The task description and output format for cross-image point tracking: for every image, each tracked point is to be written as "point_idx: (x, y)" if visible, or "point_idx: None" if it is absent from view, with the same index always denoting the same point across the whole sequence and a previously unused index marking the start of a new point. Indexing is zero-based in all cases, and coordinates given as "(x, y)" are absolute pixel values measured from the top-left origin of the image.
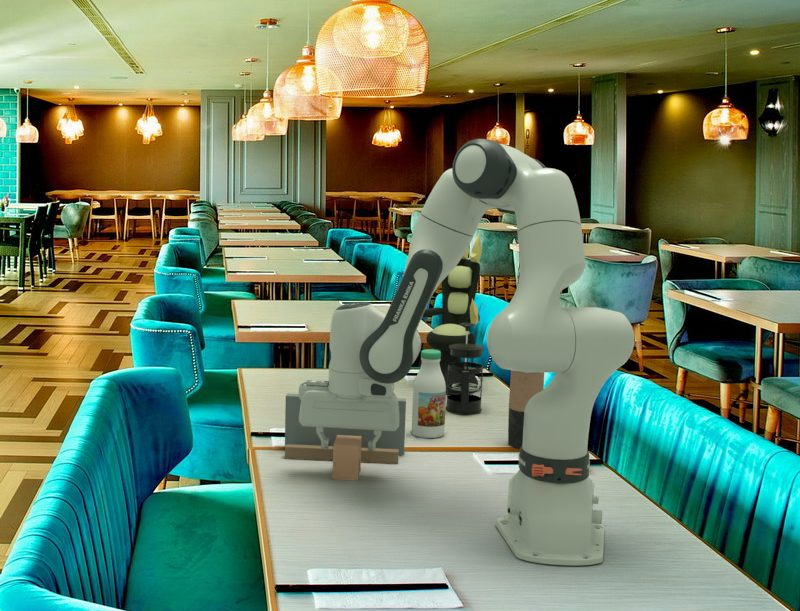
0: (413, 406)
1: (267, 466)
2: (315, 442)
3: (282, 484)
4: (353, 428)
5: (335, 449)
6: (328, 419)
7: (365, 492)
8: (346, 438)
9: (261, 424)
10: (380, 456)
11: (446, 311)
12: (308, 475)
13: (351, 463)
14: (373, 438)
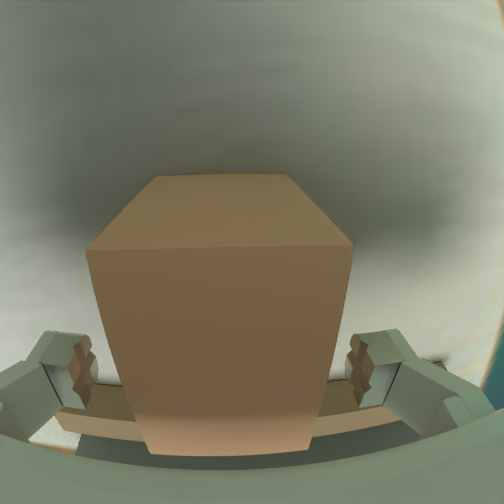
0: None
1: (495, 285)
2: (354, 451)
3: (474, 99)
4: (152, 469)
5: (318, 228)
6: (473, 497)
7: (104, 19)
8: (240, 417)
9: None
10: (113, 403)
11: None
12: (394, 212)
13: (177, 197)
14: None
